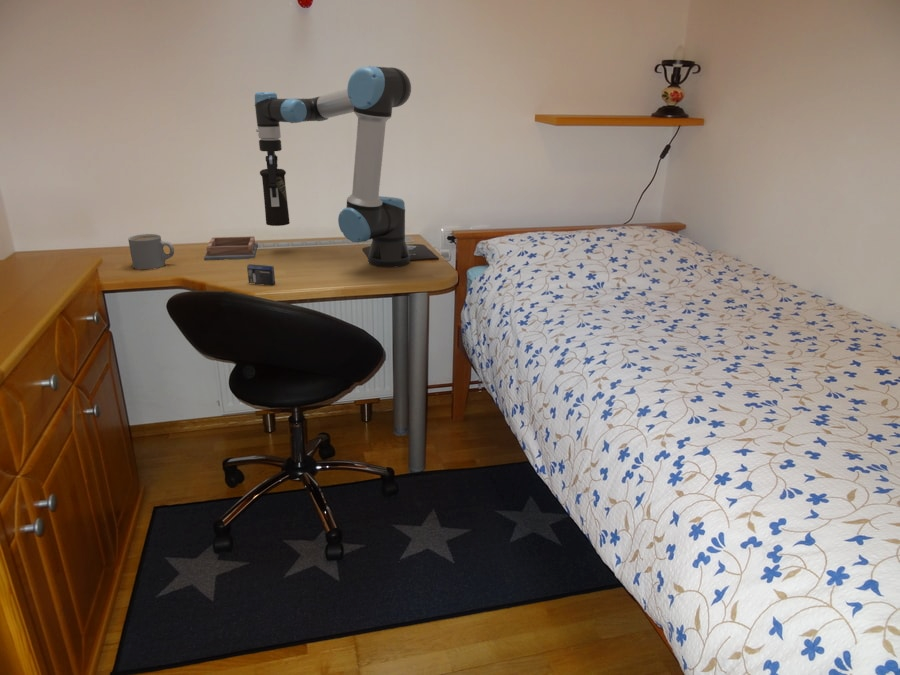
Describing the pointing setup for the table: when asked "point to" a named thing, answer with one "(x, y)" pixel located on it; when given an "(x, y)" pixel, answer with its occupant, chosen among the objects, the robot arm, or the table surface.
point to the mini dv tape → (261, 274)
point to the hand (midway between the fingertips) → (276, 204)
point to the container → (279, 214)
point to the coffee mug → (148, 251)
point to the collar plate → (231, 248)
